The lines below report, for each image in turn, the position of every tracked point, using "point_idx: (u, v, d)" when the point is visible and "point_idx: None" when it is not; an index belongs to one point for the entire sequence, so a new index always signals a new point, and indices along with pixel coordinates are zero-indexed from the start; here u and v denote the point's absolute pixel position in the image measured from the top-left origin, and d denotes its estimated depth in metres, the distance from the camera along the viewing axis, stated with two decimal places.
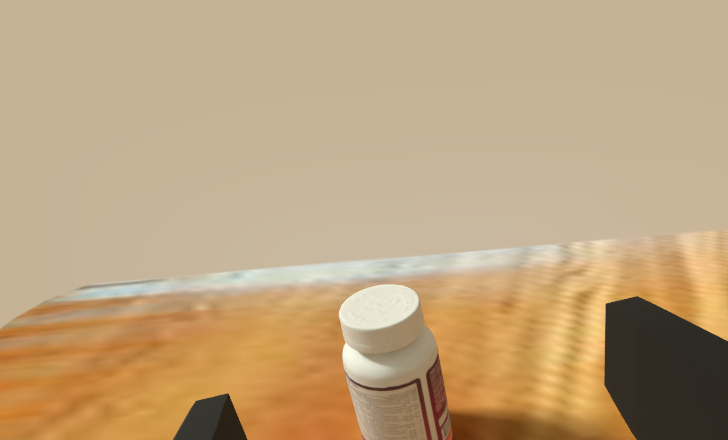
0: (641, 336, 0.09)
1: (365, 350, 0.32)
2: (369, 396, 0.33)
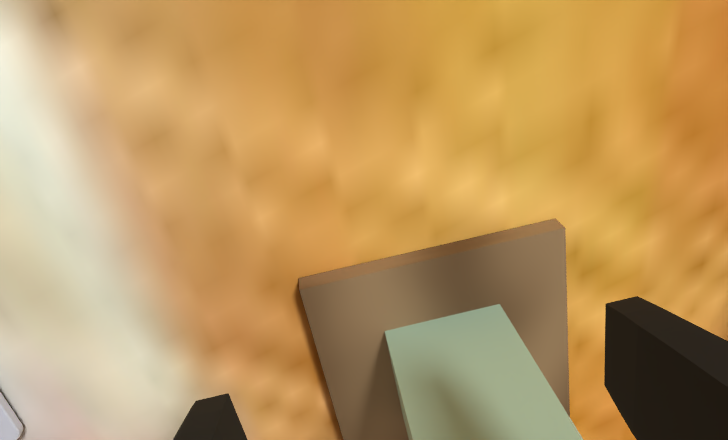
0: (641, 336, 0.09)
1: None
2: None
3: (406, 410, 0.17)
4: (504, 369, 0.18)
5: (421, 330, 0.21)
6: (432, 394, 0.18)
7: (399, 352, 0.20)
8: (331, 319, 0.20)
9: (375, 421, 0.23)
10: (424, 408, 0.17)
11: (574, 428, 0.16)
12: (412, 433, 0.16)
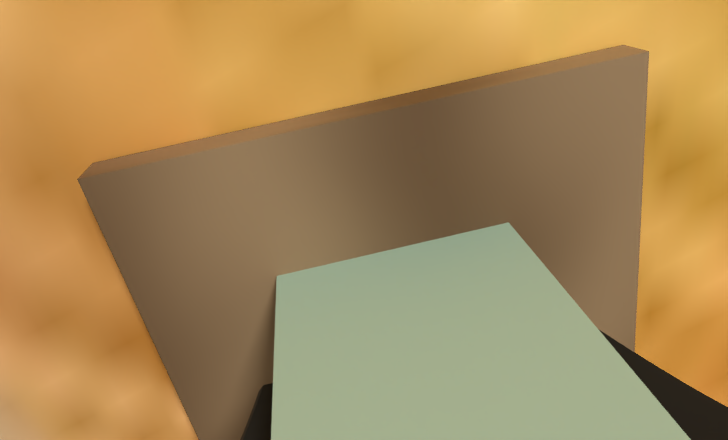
0: None
1: None
2: None
3: None
4: (525, 346, 0.07)
5: (348, 272, 0.10)
6: (345, 408, 0.07)
7: (294, 314, 0.09)
8: (160, 248, 0.10)
9: None
10: None
11: None
12: None
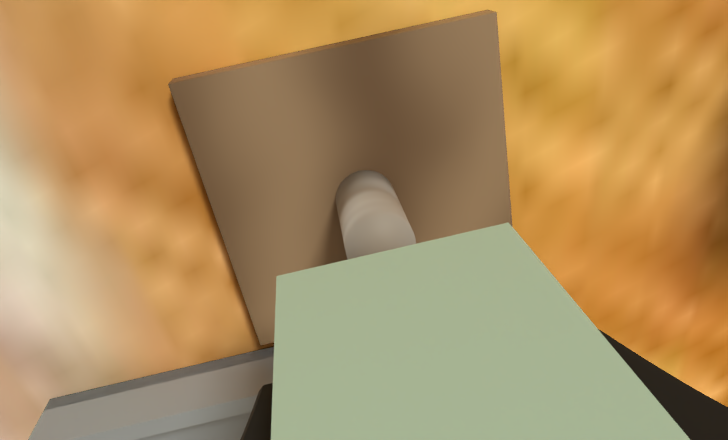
0: None
1: None
2: None
3: None
4: (524, 346, 0.07)
5: (347, 272, 0.10)
6: (345, 408, 0.07)
7: (293, 314, 0.09)
8: (213, 129, 0.17)
9: None
10: None
11: None
12: None
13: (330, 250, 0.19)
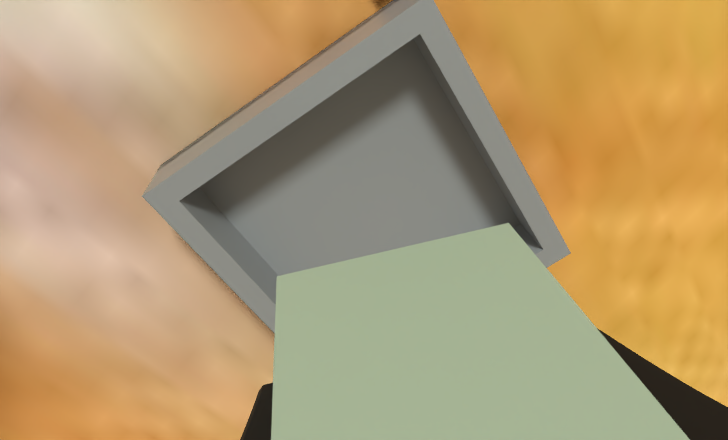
0: None
1: None
2: None
3: None
4: (524, 347, 0.07)
5: (348, 273, 0.10)
6: (345, 408, 0.07)
7: (294, 315, 0.09)
8: None
9: None
10: None
11: None
12: None
13: None
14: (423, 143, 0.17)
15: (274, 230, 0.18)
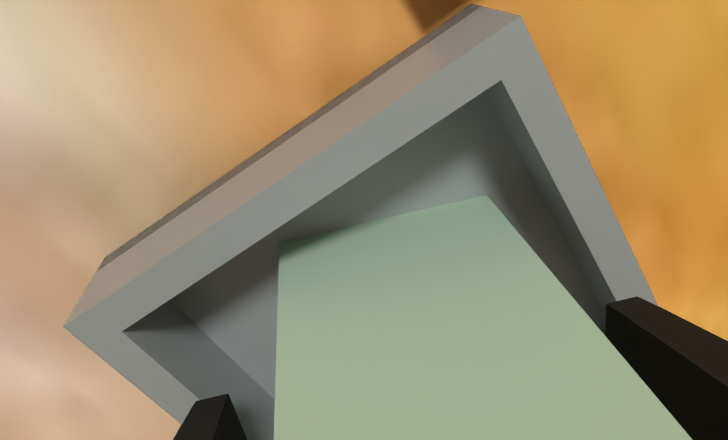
0: (641, 336, 0.09)
1: None
2: None
3: (278, 372, 0.08)
4: (493, 292, 0.09)
5: (343, 237, 0.11)
6: (339, 340, 0.08)
7: (295, 271, 0.10)
8: None
9: None
10: (316, 367, 0.08)
11: (660, 410, 0.06)
12: (276, 420, 0.07)
13: None
14: None
15: (269, 344, 0.13)
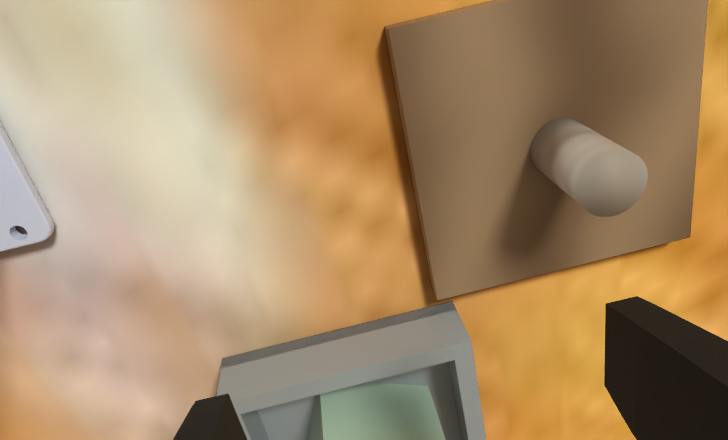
0: (641, 336, 0.09)
1: None
2: None
3: None
4: None
5: (353, 389, 0.22)
6: None
7: (329, 405, 0.21)
8: (424, 76, 0.17)
9: (467, 228, 0.19)
10: None
11: None
12: None
13: (517, 201, 0.19)
14: None
15: (288, 426, 0.23)
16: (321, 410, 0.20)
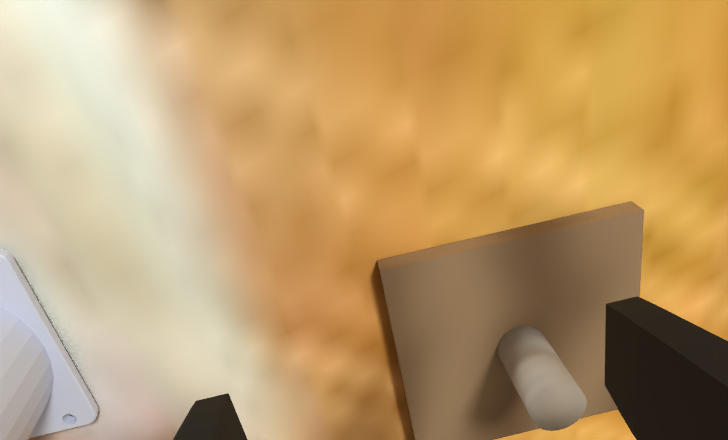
0: (641, 336, 0.09)
1: None
2: None
3: None
4: None
5: None
6: None
7: None
8: (409, 301, 0.20)
9: (444, 405, 0.23)
10: None
11: None
12: None
13: (487, 385, 0.23)
14: None
15: None
16: None
